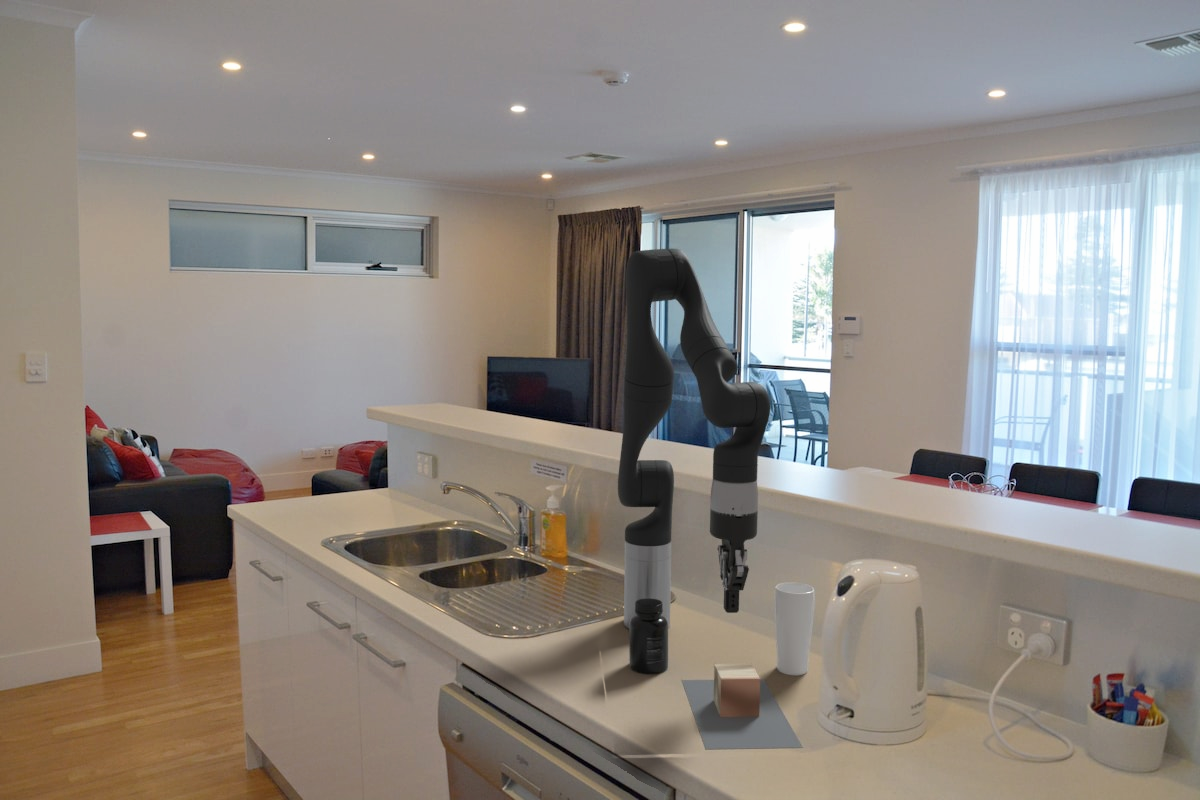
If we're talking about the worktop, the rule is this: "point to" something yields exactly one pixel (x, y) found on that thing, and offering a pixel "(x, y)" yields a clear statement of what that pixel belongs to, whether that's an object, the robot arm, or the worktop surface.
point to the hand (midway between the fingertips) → (731, 611)
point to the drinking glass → (793, 626)
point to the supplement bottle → (648, 638)
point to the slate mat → (739, 721)
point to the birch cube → (736, 690)
